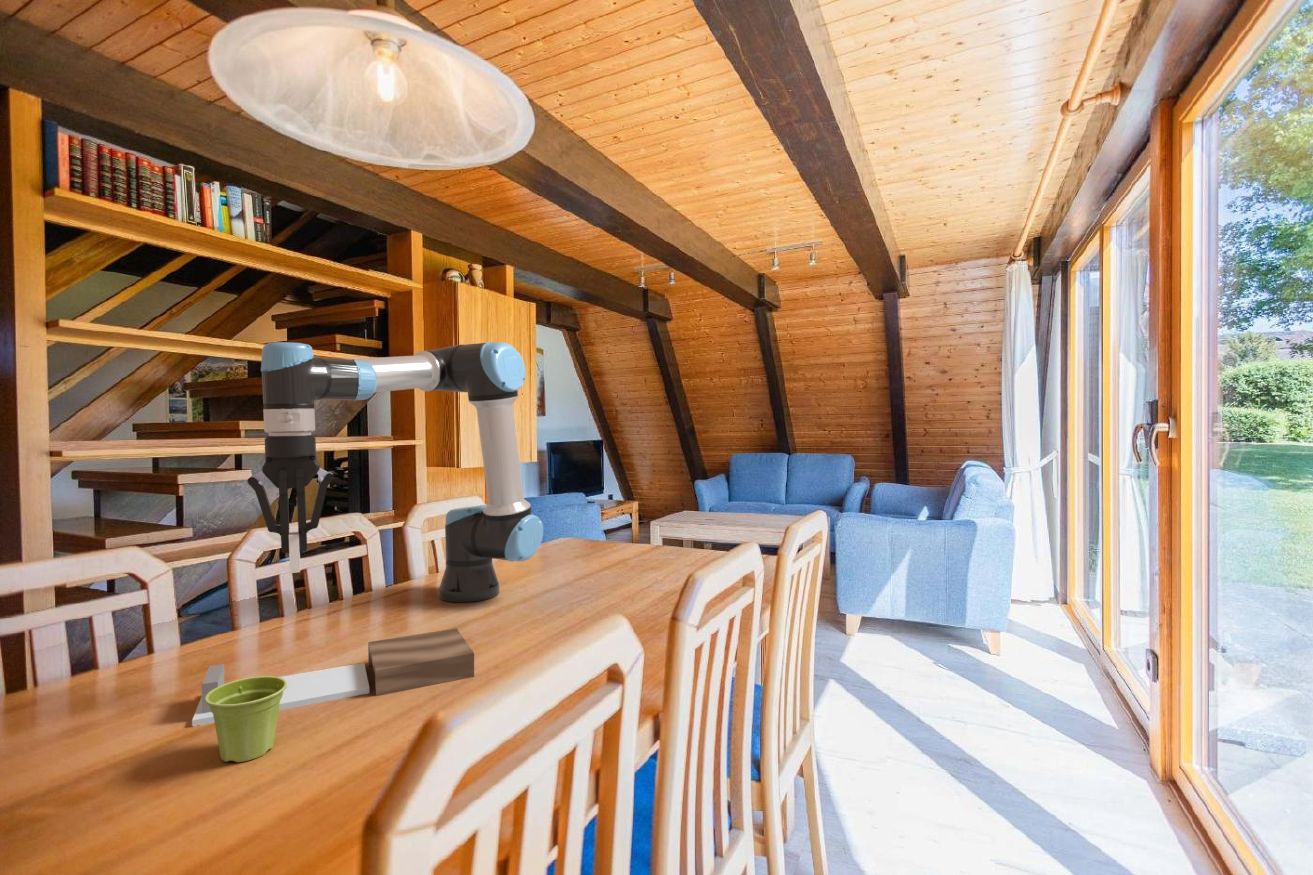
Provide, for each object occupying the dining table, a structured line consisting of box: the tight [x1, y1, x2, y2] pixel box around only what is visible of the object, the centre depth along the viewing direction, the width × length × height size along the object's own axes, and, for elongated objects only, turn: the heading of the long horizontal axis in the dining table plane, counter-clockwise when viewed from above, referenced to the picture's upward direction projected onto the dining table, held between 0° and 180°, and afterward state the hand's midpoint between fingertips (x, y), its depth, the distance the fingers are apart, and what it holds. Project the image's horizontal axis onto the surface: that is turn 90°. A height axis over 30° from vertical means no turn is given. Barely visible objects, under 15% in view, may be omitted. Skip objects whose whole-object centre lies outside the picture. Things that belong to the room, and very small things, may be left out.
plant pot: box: [205, 675, 287, 763], centre depth 86 cm, size 9×9×9 cm
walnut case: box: [367, 628, 475, 696], centre depth 114 cm, size 15×16×4 cm
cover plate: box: [191, 662, 370, 727], centre depth 104 cm, size 12×24×6 cm, turn 119°
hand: (295, 570), depth 107 cm, fingers closed
